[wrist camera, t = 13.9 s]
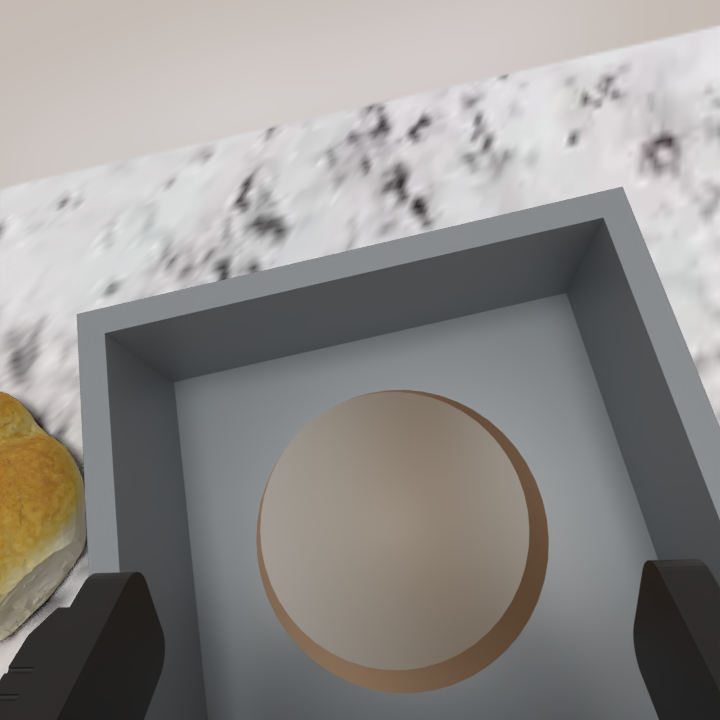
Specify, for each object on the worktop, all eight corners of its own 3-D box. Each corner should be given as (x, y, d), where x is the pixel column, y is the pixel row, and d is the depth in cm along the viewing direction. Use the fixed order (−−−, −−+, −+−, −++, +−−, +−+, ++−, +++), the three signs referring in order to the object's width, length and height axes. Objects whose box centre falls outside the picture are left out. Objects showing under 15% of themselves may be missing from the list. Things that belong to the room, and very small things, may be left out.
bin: (209, 876, 18) (109, 1016, 13) (162, 374, 24) (76, 314, 18) (749, 772, 18) (900, 872, 12) (575, 280, 23) (622, 186, 17)
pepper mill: (354, 644, 19) (240, 760, 8) (327, 489, 20) (199, 391, 9) (508, 613, 19) (630, 682, 7) (468, 458, 20) (517, 320, 9)
